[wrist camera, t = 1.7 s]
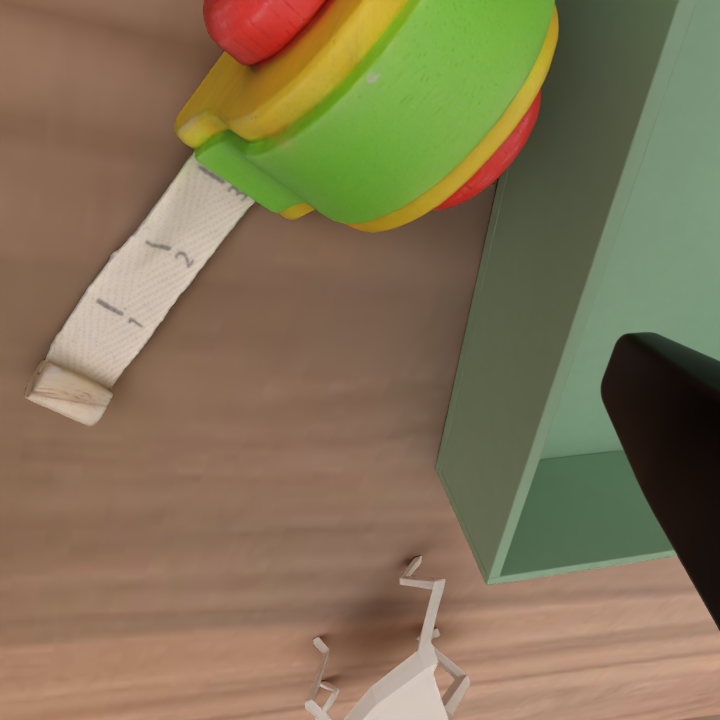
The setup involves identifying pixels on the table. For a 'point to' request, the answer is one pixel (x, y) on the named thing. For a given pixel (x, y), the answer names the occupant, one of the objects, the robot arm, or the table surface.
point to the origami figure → (403, 674)
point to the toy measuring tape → (312, 148)
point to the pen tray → (587, 287)
